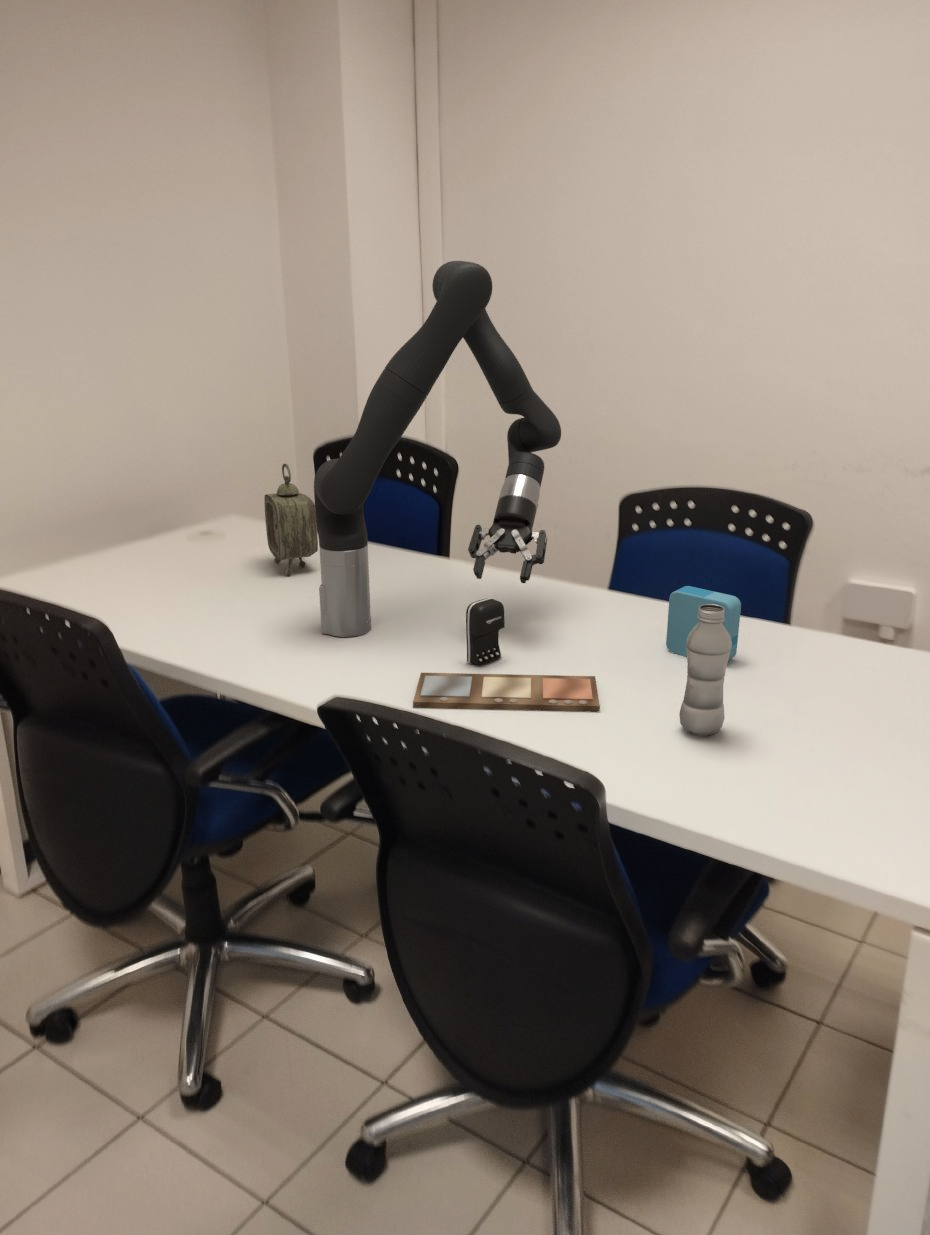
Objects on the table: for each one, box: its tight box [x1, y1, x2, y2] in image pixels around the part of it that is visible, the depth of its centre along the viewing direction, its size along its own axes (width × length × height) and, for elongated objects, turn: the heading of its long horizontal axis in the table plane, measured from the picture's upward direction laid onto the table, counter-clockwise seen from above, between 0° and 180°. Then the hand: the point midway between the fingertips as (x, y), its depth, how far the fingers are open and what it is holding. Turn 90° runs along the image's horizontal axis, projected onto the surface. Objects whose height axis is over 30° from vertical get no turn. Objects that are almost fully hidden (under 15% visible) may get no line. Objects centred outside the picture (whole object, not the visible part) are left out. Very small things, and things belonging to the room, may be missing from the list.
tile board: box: [412, 672, 601, 713], centre depth 160 cm, size 30×12×1 cm, turn 86°
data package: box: [665, 585, 742, 661], centre depth 174 cm, size 12×4×12 cm, turn 49°
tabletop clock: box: [264, 463, 319, 577], centre depth 224 cm, size 14×9×25 cm, turn 23°
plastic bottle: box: [679, 604, 732, 736], centre depth 144 cm, size 6×7×20 cm
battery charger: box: [465, 597, 506, 667], centre depth 172 cm, size 7×4×11 cm, turn 133°
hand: (500, 579), depth 177 cm, fingers open, 8 cm apart
